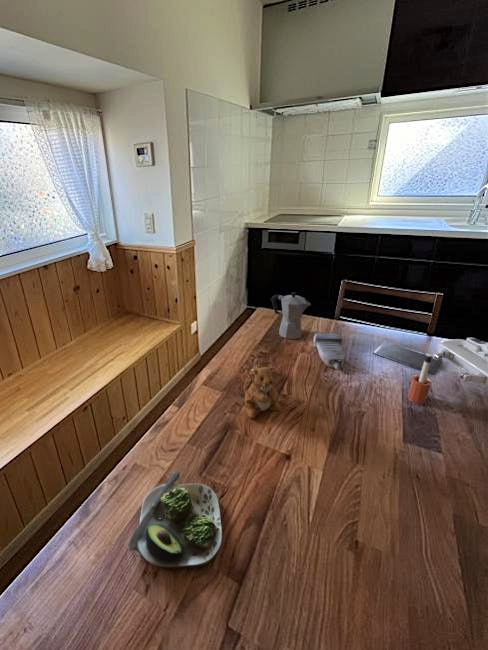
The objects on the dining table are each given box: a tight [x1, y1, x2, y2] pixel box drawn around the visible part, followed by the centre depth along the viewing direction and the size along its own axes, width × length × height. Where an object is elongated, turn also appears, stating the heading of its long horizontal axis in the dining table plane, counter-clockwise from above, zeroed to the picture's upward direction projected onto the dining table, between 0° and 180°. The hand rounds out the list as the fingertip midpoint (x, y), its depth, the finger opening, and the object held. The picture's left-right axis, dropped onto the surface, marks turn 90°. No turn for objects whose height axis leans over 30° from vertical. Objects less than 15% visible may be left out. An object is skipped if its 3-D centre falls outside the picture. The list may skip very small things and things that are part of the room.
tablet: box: [372, 340, 443, 376], centre depth 115 cm, size 18×11×1 cm, turn 42°
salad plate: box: [127, 470, 223, 570], centre depth 68 cm, size 19×18×5 cm
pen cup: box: [407, 375, 433, 405], centre depth 95 cm, size 4×4×7 cm
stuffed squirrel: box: [243, 363, 282, 419], centre depth 97 cm, size 10×14×13 cm
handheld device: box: [312, 332, 347, 371], centre depth 118 cm, size 10×20×5 cm, turn 173°
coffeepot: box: [270, 291, 311, 340], centre depth 131 cm, size 15×9×18 cm, turn 53°
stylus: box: [418, 352, 434, 384], centre depth 93 cm, size 1×1×15 cm
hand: (448, 366), depth 92 cm, fingers open, 8 cm apart
